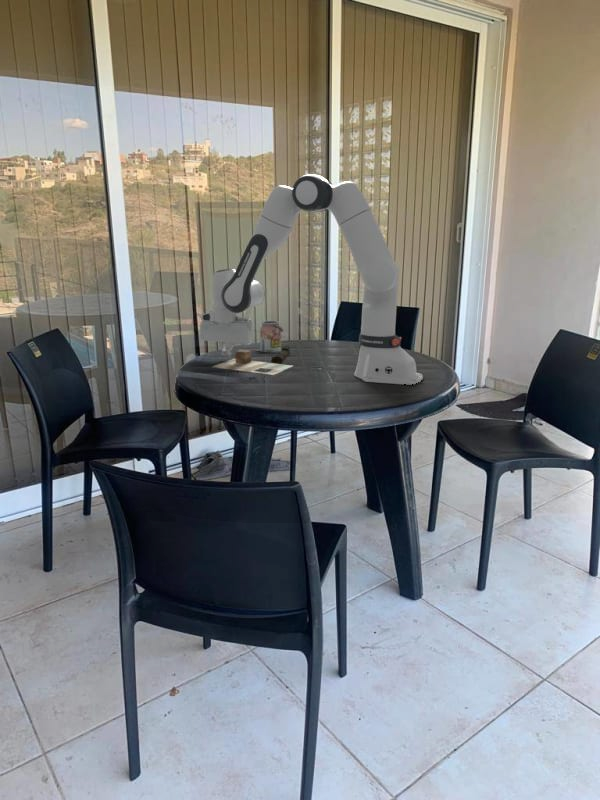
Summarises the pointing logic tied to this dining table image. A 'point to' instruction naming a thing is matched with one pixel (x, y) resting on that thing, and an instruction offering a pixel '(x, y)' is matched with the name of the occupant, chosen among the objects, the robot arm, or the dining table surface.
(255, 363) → the birch board
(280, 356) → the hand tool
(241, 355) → the walnut cube
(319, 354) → the dining table surface
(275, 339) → the beverage can
